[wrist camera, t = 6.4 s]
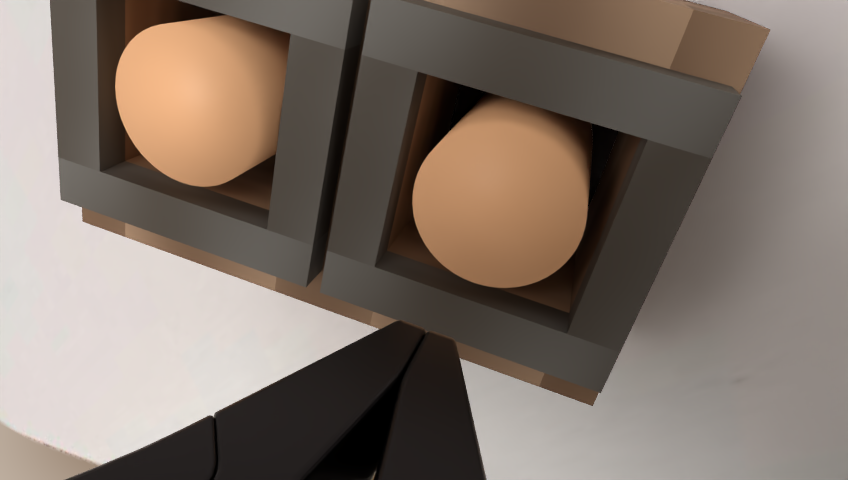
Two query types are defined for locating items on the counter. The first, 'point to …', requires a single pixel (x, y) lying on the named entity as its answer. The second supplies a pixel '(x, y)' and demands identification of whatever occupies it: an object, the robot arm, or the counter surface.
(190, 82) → the peg
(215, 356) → the counter surface
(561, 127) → the peg
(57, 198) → the counter surface
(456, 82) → the socket block
